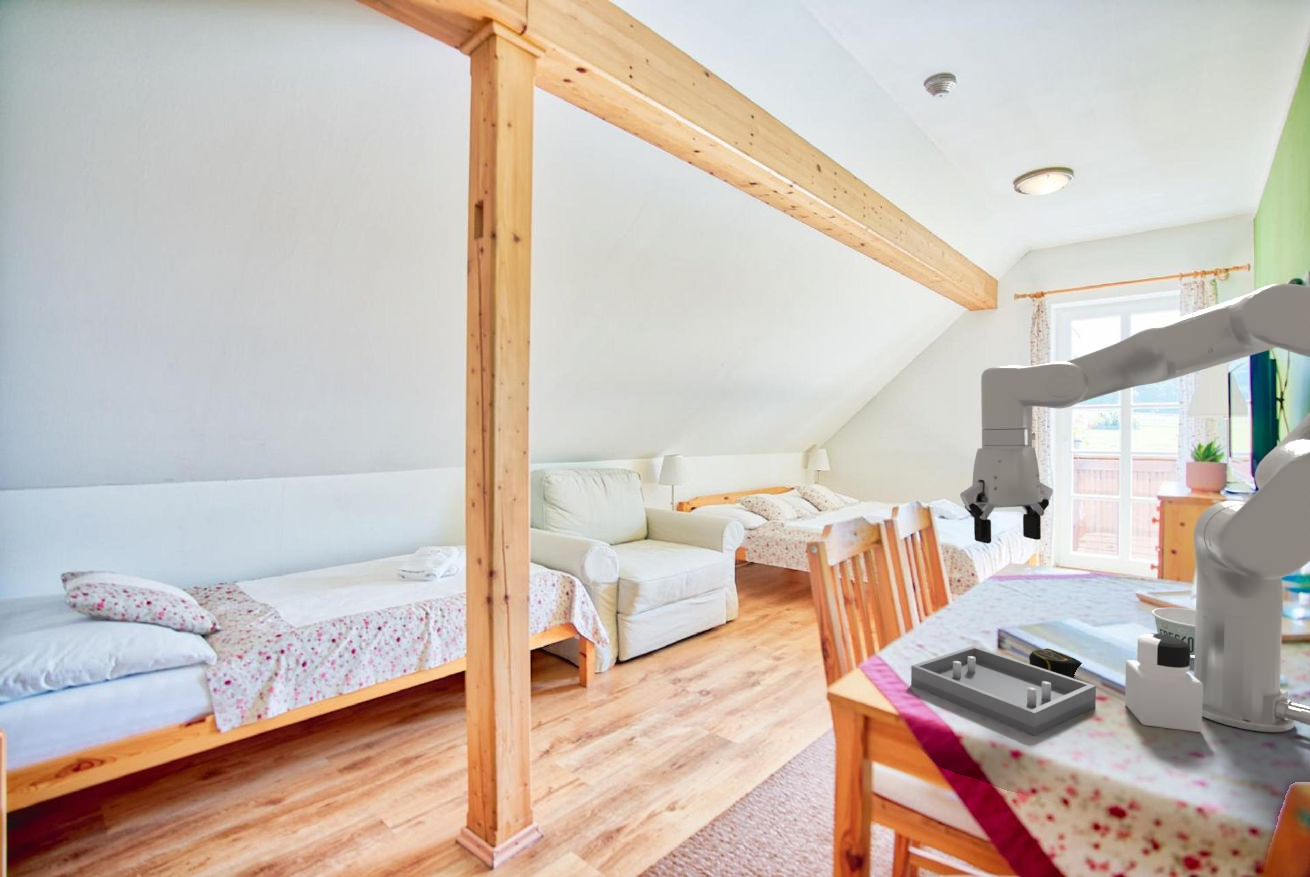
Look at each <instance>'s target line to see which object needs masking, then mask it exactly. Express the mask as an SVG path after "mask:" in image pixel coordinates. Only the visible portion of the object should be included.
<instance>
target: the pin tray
mask: <svg viewBox="0 0 1310 877" xmlns="http://www.w3.org/2000/svg"><path fill="white" fill-rule="evenodd" d="M910 671H911V674H910V675H911V676H910V678H911V680H910V682H911V684H910V685H911V686H913V687H916V688H918V689H921V690H923V691H925V692H927V693H931V694H933V695H935V696H938V697H941V698H943V699H945V700H947V701H950V702H951V703H955V704H957V705H959V706H962V707H964V708H967V709H969V710H971V711H974V712H976V713H979V714H981V715H984V716H986V717H988V718H991V719H992V720H995V721H998V722H1001V723H1003V724H1005V725H1008V726H1010V727H1012V728H1015V729H1016V730H1018V731H1022V732H1024V733H1027V734H1029V735H1032V736H1033V737H1034V736H1037V735H1038V734H1041V733H1043V732H1045V731H1047V730H1049V729H1051V728H1053V727H1055V726H1058V725H1059V724H1061V723H1064V722H1065V721H1068V720H1070V719H1072V718H1074V717H1076V716H1078V715H1081V714H1083V713H1084V712H1087V711H1088V710H1091V709H1093V708H1095V707H1096V702H1097V699H1096V695H1097V694H1096V693H1097V685H1096V684H1095V685H1094V684H1093V683H1092V684H1091V683H1088V682H1085V681H1083V680H1079V679H1076V678H1075V677H1074V678H1070V677H1067V676H1064V675H1061V674H1058V673H1055V672H1052V671H1049V670H1046V669H1043V668H1040V667H1037V666H1033V665H1030V663H1027V662H1023V661H1021V660H1017V659H1014V658H1011V657H1008V656H1005V655H1003V654H999V653H997V652H996V653H995V652H992V651H990V650H987V649H984V648H980V647H977V646H975V645H971V646H969V647H966V648H962V649H960V650H956V651H953V652H950V653H946V654H944V655H940V656H937V657H934V658H931V659H928V660H924V661H922V662H917V663H915V664H913V665H911V668H910Z"/></svg>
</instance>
